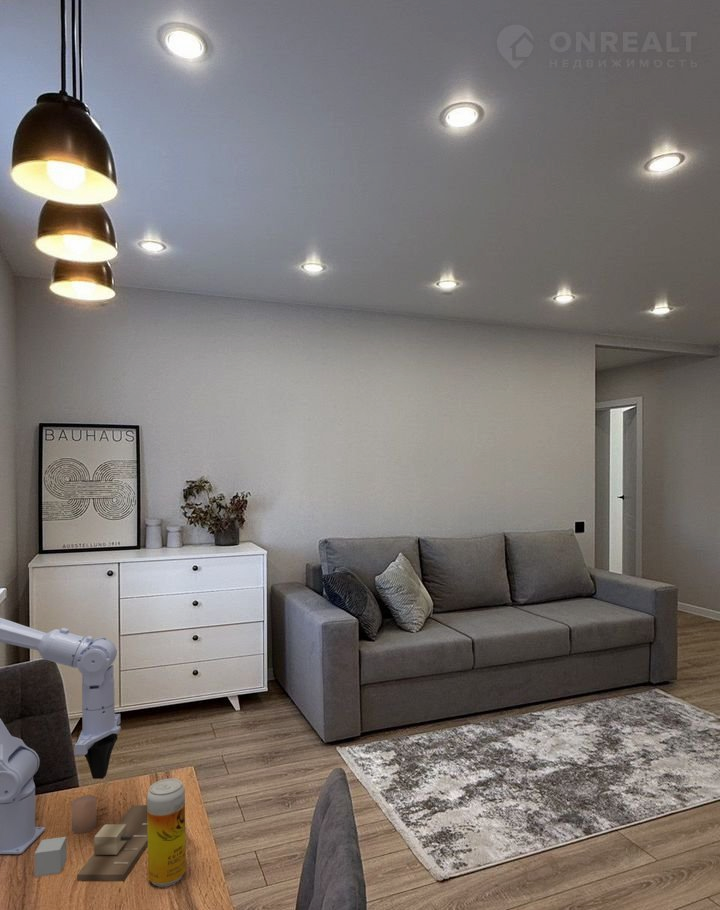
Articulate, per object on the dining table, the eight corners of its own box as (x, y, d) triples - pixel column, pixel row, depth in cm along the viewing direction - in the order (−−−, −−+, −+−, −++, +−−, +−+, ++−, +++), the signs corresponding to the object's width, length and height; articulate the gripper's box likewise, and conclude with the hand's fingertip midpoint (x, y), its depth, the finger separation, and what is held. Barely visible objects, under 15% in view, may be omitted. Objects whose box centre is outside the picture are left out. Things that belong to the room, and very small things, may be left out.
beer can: (174, 890, 99) (173, 796, 100) (140, 886, 100) (139, 793, 101) (192, 867, 105) (190, 778, 105) (160, 864, 106) (158, 776, 107)
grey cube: (34, 877, 103) (34, 853, 104) (42, 863, 107) (41, 839, 108) (60, 873, 104) (59, 849, 104) (66, 859, 108) (66, 836, 108)
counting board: (77, 880, 102) (77, 873, 102) (132, 810, 124) (132, 804, 124) (123, 880, 102) (123, 874, 102) (170, 810, 124) (170, 804, 124)
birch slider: (94, 854, 107) (94, 837, 107) (104, 841, 111) (104, 824, 111) (126, 854, 107) (125, 836, 107) (135, 841, 111) (135, 824, 111)
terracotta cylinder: (67, 833, 116) (66, 807, 116) (78, 821, 121) (78, 795, 121) (89, 833, 116) (89, 806, 116) (100, 821, 120) (100, 795, 121)
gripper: (101, 719, 110) (102, 796, 109) (134, 691, 124) (135, 759, 124) (62, 719, 110) (63, 796, 110) (100, 692, 125) (101, 760, 124)
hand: (99, 777), depth 117 cm, fingers closed
